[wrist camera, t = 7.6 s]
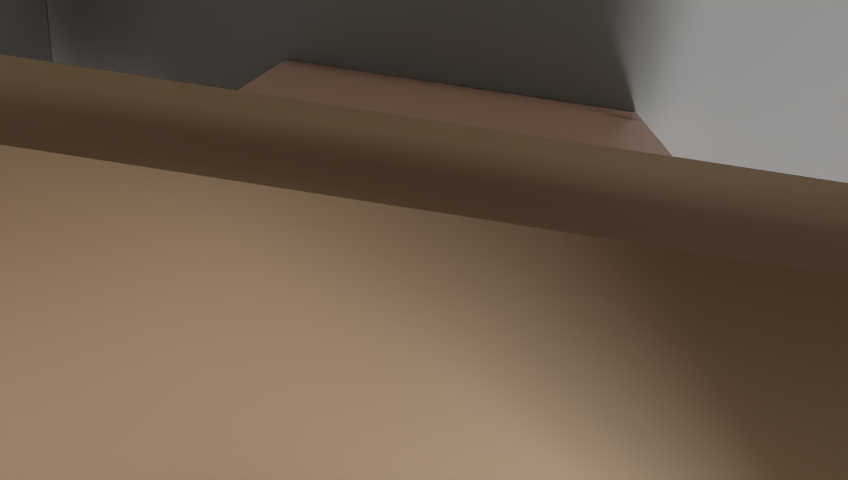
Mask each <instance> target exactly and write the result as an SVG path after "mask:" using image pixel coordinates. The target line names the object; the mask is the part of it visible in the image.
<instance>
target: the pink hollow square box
mask: <svg viewBox="0 0 848 480" xmlns="http://www.w3.org/2000/svg"><path fill="white" fill-rule="evenodd" d="M238 91H245V92H252V93H258V94H265V95H271V96H278V97H284V98H291V99H297V100H304V101H311V102H317V103H324V104H330V105H337V106H343V107H350V108H357V109H363V110H370V111H376V112H383V113H389V114H396V115H403V116H409V117H416V118H422V119H429V120H435V121H442V122H449V123H455V124H462V125H468V126H475V127H481V128H488V129H495V130H501V131H508V132H514V133H521V134H527V135H534V136H541V137H547V138H554V139H560V140H567V141H573V142H580V143H586V144H593V145H600V146H606V147H613V148H619V149H626V150H632V151H639V152H646V153H652V154H659V155H665V156H672V155H671V154H670V153H669V152H668V150H667V149H666V148H665V147H664V146H663V144H662V143H661V142H660V141H659V140H658V138H657V137H656V136H655V135H654V134H653V132H652V131H651V130H650V129H649V128H648V126H647V125H646V124H645V123H644V122H643V120H642V119H641V118H640V117H639V116H638V114H637V113H635V112H628V111H622V110H615V109H609V108H602V107H595V106H589V105H582V104H575V103H569V102H562V101H556V100H549V99H542V98H536V97H529V96H522V95H516V94H509V93H503V92H496V91H489V90H483V89H476V88H469V87H463V86H456V85H450V84H443V83H436V82H430V81H423V80H416V79H410V78H403V77H397V76H390V75H383V74H377V73H370V72H363V71H357V70H350V69H344V68H337V67H330V66H324V65H317V64H310V63H304V62H297V61H291V60H284V61H282V62H281V63H279V64H278V65H276V66H274V67H273V68H271V69H270V70H268V71H267V72H265V73H263V74H262V75H260V76H259V77H257V78H256V79H254V80H253V81H251V82H249V83H248V84H246V85H245V86H243V87H242V88H240V89H238ZM672 157H673V156H672Z"/></svg>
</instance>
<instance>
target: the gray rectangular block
mask: <svg viewBox="0 0 848 480" xmlns="http://www.w3.org/2000/svg"><path fill="white" fill-rule="evenodd" d="M0 54H2V55H8V56H15V57H22V58H28V59H35V60H41V61H48V62H52V58H51V48H50V39H49V29H48V19H47V9H46V0H0Z"/></svg>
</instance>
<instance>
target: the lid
mask: <svg viewBox="0 0 848 480" xmlns="http://www.w3.org/2000/svg"><path fill="white" fill-rule="evenodd" d="M0 480H848V183H843V182H836V181H830V180H823V179H816V178H810V177H803V176H797V175H790V174H784V173H777V172H770V171H764V170H757V169H751V168H744V167H738V166H731V165H724V164H718V163H711V162H705V161H698V160H692V159H685V158H678V157H672V156H665V155H659V154H652V153H646V152H639V151H632V150H626V149H619V148H613V147H606V146H600V145H593V144H586V143H580V142H573V141H567V140H560V139H554V138H547V137H541V136H534V135H527V134H521V133H514V132H508V131H501V130H495V129H488V128H481V127H475V126H468V125H462V124H455V123H449V122H442V121H435V120H429V119H422V118H416V117H409V116H403V115H396V114H389V113H383V112H376V111H370V110H363V109H357V108H350V107H343V106H337V105H330V104H324V103H317V102H311V101H304V100H297V99H291V98H284V97H278V96H271V95H265V94H258V93H252V92H245V91H238V90H232V89H225V88H219V87H212V86H206V85H199V84H192V83H186V82H179V81H173V80H166V79H160V78H153V77H146V76H140V75H133V74H127V73H120V72H114V71H107V70H100V69H94V68H87V67H81V66H74V65H68V64H61V63H54V62H48V61H41V60H35V59H28V58H22V57H15V56H8V55H2V54H0Z"/></svg>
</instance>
